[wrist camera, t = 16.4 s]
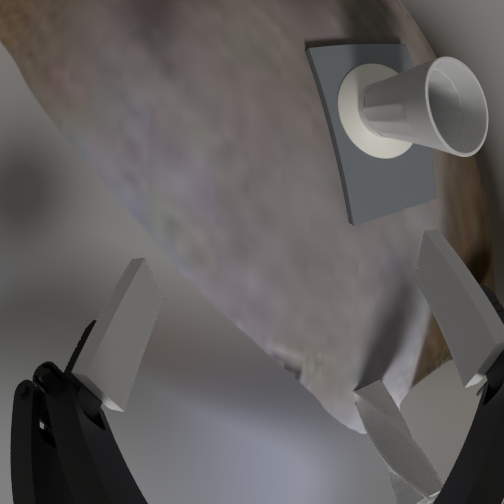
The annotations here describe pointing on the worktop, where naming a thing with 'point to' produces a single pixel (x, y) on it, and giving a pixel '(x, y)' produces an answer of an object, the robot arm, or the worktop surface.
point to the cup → (429, 107)
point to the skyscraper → (397, 446)
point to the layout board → (361, 139)
